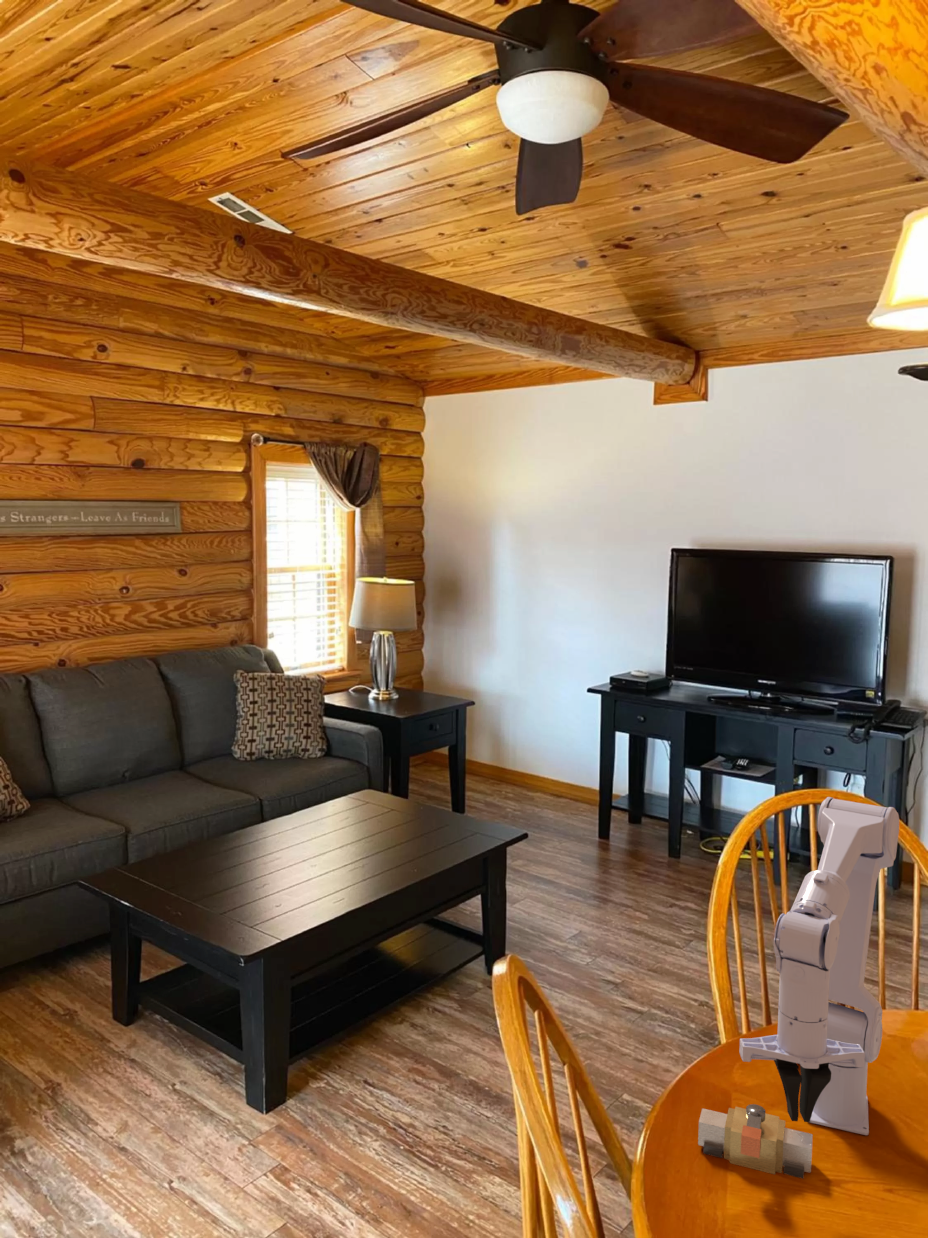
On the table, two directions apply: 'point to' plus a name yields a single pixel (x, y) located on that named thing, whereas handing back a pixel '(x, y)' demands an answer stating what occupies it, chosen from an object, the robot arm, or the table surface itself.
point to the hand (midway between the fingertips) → (798, 1117)
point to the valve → (775, 1142)
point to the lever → (752, 1131)
